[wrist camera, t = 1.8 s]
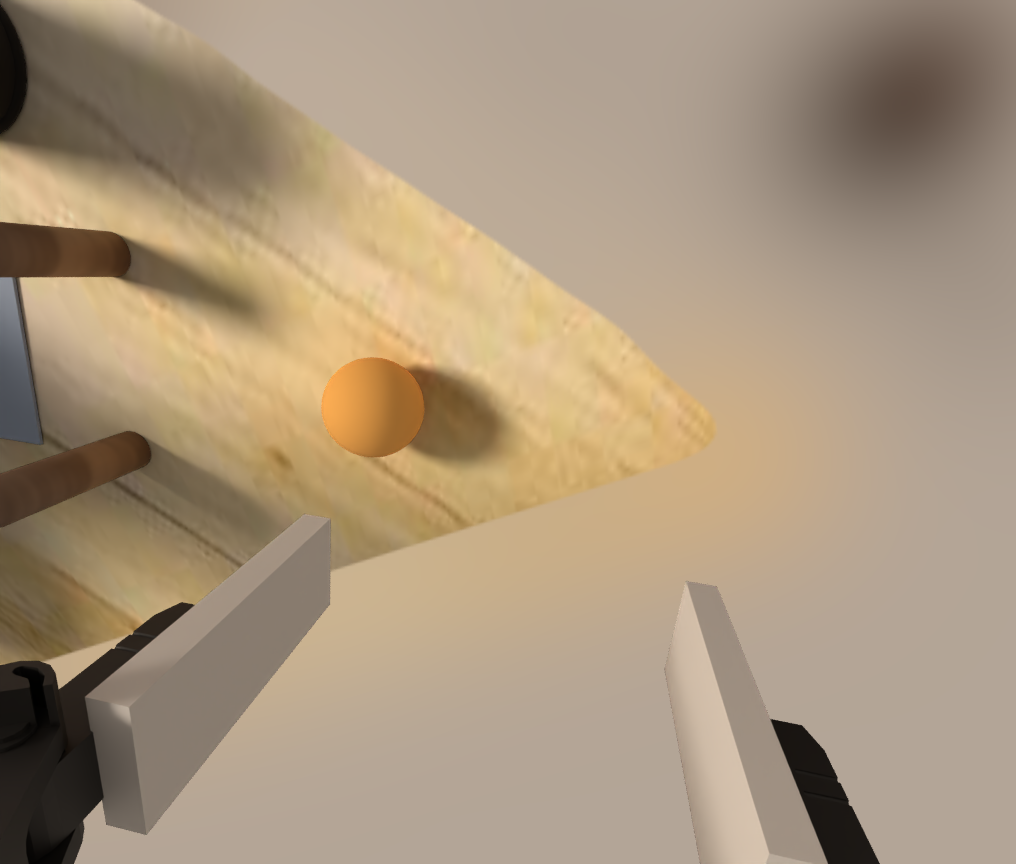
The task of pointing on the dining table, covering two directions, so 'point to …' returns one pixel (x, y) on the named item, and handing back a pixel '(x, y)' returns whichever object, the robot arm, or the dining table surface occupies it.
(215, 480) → the dining table surface
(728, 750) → the robot arm
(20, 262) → the post
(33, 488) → the post
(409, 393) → the ball
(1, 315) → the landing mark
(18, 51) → the aerosol can
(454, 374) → the dining table surface
